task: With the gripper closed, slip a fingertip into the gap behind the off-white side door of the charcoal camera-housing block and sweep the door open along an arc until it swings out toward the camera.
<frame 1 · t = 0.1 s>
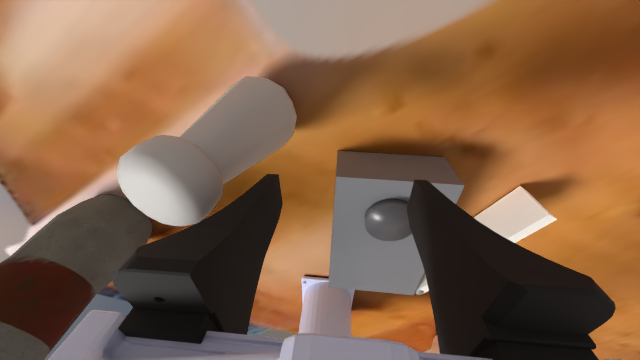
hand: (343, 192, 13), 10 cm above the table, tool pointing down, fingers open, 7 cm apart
camera housing: (377, 215, 27), on the table
salt shaker: (273, 106, 20), on the table
bottle: (123, 216, 31), on the table
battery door: (468, 248, 25), point 2 cm above the table, hinge at 30.0°
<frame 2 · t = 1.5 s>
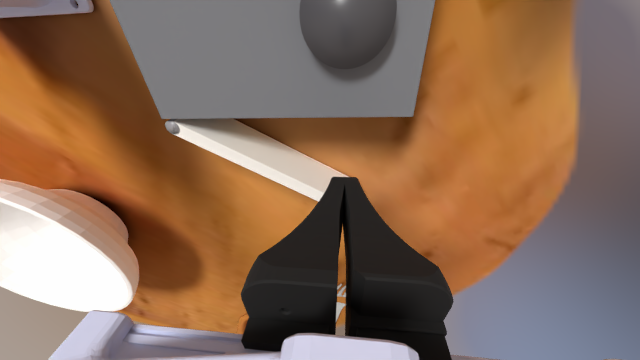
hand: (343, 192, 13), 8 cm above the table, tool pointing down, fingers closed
camera housing: (285, 20, 15), on the table
beer glass: (256, 321, 42), on the table
bowl: (93, 215, 29), on the table
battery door: (274, 164, 19), point 2 cm above the table, hinge at 30.0°
fork: (333, 314, 38), on the table
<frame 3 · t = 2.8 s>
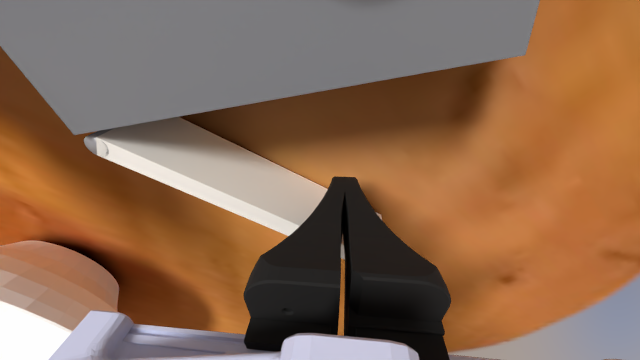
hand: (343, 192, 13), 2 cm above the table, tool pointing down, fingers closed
bowl: (77, 264, 24), on the table
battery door: (263, 195, 13), point 2 cm above the table, hinge at 38.9°, touching gripper
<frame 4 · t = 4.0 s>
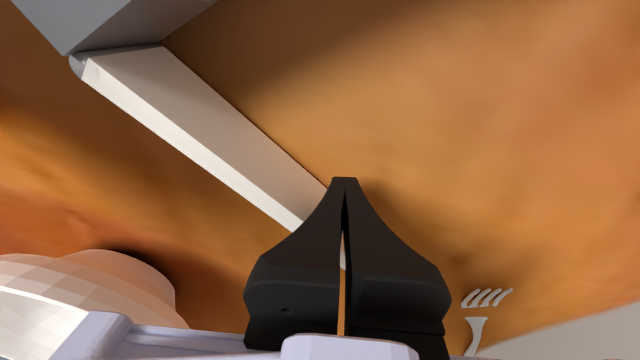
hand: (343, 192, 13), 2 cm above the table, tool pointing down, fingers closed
bowl: (133, 272, 24), on the table
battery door: (259, 175, 12), point 2 cm above the table, hinge at 69.6°, touching camera housing, gripper
fork: (468, 334, 26), on the table
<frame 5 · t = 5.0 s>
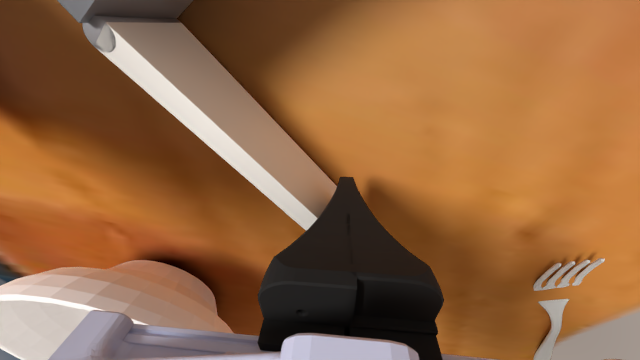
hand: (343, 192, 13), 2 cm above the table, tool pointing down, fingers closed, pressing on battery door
bowl: (173, 282, 24), on the table
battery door: (271, 167, 12), point 2 cm above the table, hinge at 82.2°, touching camera housing, gripper
fork: (543, 322, 22), on the table
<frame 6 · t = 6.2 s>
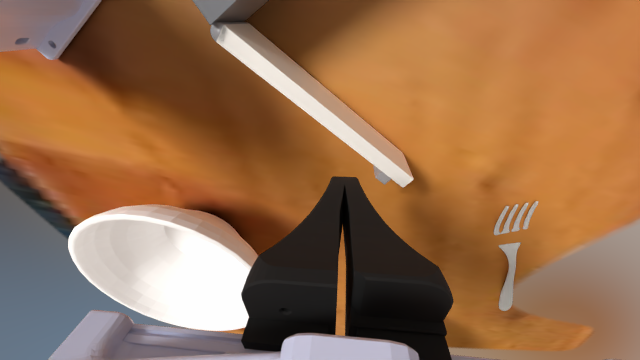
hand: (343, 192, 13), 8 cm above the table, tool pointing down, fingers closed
bowl: (208, 233, 29), on the table
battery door: (322, 112, 16), point 2 cm above the table, hinge at 69.3°, touching camera housing
fork: (505, 267, 28), on the table
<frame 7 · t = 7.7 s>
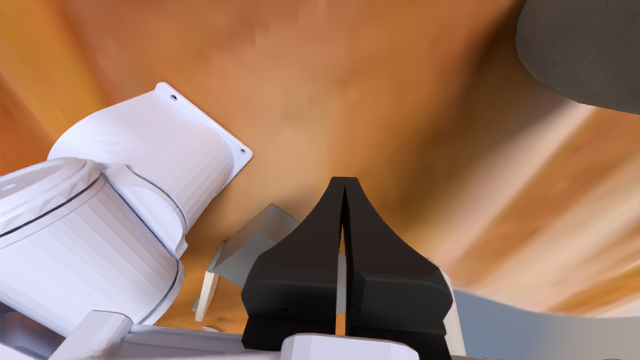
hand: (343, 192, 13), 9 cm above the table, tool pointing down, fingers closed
camera housing: (296, 255, 31), on the table
salt shaker: (419, 266, 30), on the table
bottle: (584, 11, 15), on the table
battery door: (207, 283, 33), point 2 cm above the table, hinge at 69.3°, touching camera housing
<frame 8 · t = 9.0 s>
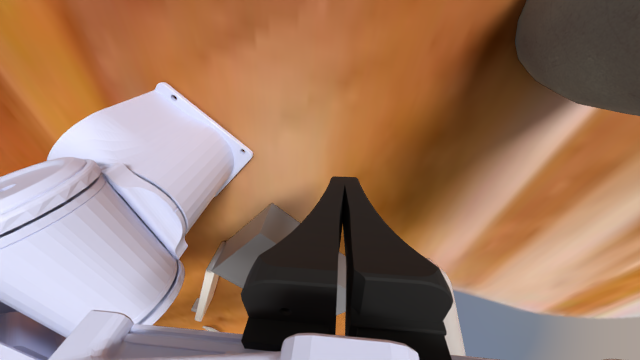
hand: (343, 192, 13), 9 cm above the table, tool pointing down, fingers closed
camera housing: (296, 255, 31), on the table
salt shaker: (419, 266, 30), on the table
bottle: (584, 12, 15), on the table
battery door: (207, 283, 33), point 2 cm above the table, hinge at 69.3°, touching camera housing
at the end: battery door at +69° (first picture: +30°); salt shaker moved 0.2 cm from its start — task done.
